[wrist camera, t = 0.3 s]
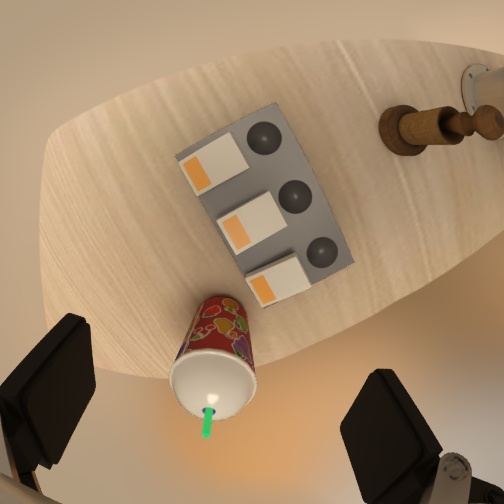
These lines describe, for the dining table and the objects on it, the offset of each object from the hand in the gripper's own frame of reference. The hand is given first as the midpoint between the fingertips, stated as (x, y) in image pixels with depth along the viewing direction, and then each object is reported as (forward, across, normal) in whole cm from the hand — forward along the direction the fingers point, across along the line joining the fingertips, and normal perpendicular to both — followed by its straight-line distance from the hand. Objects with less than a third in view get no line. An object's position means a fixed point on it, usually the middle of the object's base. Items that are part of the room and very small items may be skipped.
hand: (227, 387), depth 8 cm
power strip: (+27, -3, -3) cm, 28 cm away
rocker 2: (+24, -6, +4) cm, 25 cm away
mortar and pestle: (+27, -18, -17) cm, 36 cm away
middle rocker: (+24, -1, -1) cm, 24 cm away
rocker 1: (+24, +3, -6) cm, 25 cm away
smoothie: (+28, -1, +13) cm, 31 cm away
